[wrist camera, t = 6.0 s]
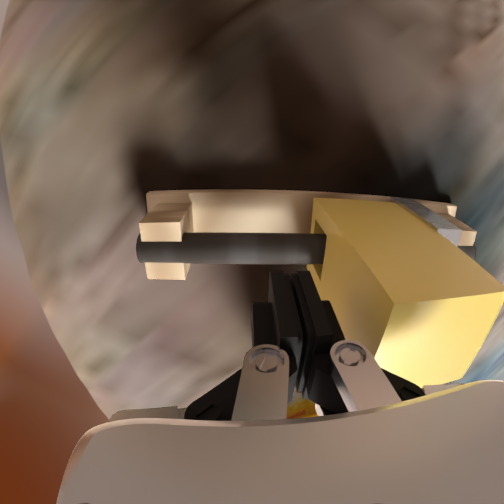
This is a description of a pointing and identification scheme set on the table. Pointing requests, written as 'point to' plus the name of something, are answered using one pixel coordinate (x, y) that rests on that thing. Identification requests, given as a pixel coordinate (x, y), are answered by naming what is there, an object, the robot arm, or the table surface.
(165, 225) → the cord rig
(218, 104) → the table surface
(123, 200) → the table surface
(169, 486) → the robot arm
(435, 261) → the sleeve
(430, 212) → the grey slab
